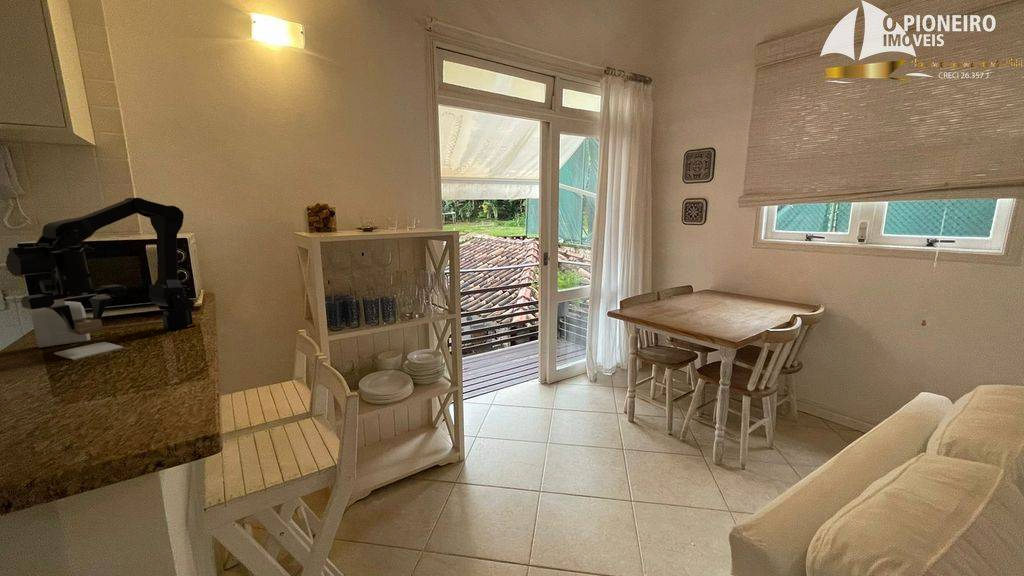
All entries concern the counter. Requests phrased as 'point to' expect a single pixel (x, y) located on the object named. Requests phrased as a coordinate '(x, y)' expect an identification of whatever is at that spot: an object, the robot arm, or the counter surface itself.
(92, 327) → the ridged brown block
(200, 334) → the counter surface
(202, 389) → the counter surface
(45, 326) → the photo printer
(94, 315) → the robot arm
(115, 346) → the mat
